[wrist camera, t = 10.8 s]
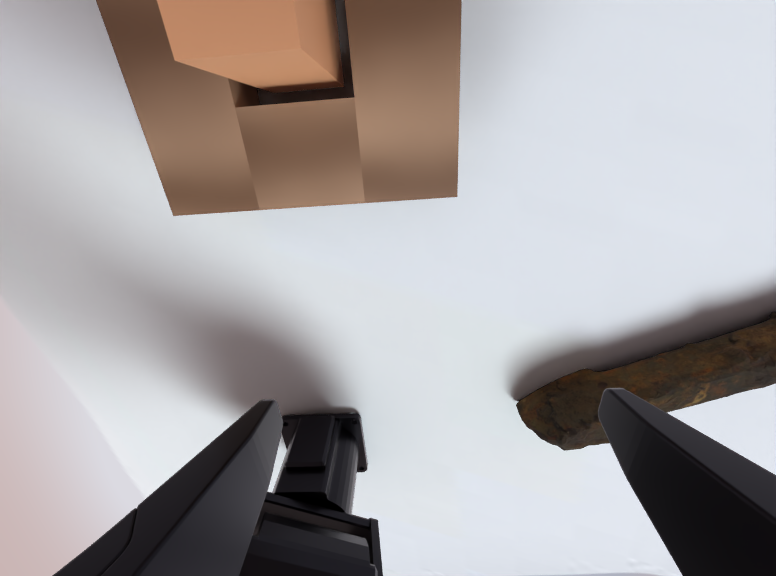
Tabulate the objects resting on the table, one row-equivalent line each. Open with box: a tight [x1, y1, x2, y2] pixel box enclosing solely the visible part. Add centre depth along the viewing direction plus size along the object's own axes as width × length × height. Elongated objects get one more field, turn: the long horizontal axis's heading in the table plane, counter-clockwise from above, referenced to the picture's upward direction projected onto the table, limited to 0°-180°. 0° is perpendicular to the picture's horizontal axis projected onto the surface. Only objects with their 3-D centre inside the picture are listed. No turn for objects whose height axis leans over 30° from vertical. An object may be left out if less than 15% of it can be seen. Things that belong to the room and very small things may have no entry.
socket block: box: [96, 0, 461, 216], centre depth 14 cm, size 14×14×3 cm
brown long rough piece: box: [516, 312, 776, 450], centre depth 21 cm, size 19×4×5 cm, turn 112°
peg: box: [157, 0, 344, 93], centre depth 12 cm, size 4×4×8 cm
